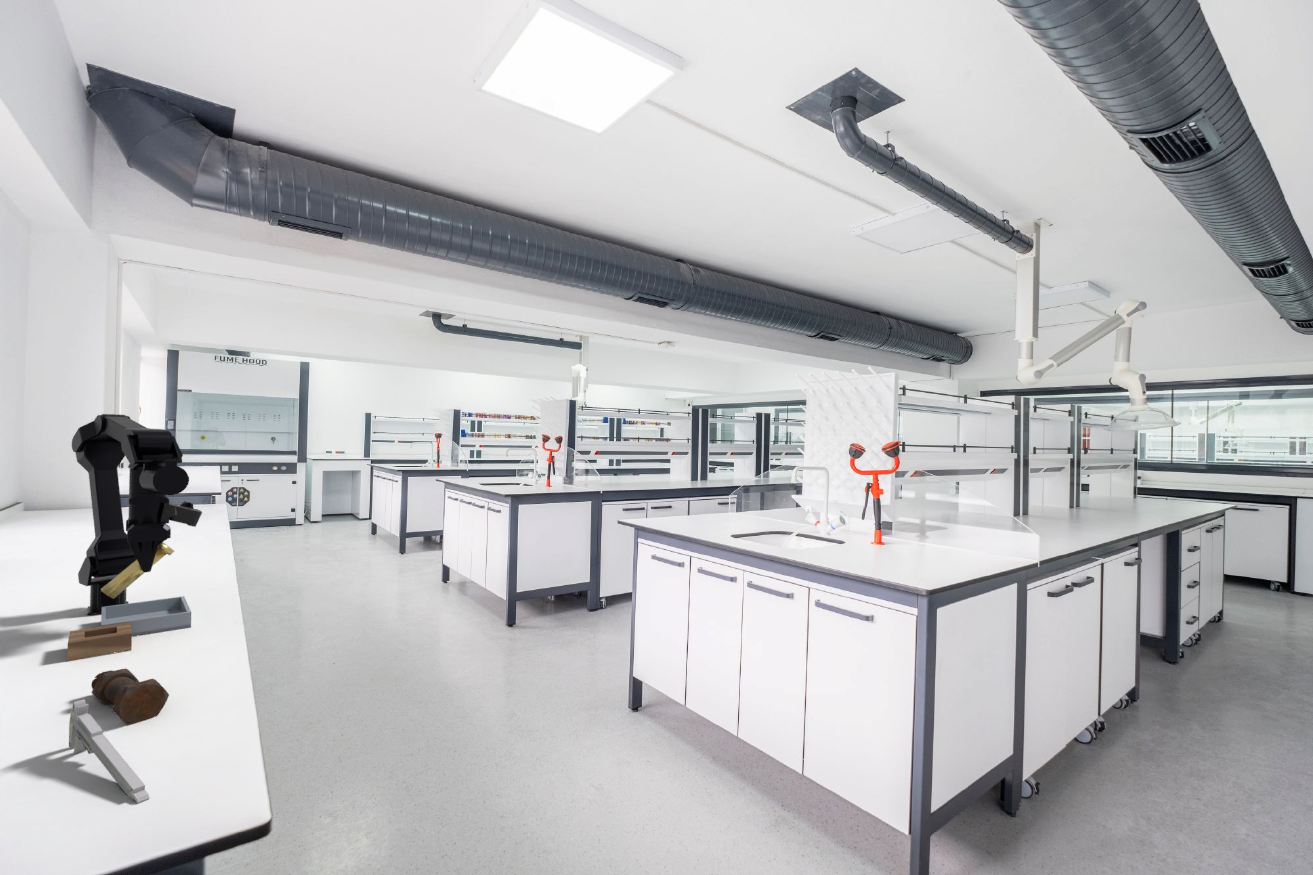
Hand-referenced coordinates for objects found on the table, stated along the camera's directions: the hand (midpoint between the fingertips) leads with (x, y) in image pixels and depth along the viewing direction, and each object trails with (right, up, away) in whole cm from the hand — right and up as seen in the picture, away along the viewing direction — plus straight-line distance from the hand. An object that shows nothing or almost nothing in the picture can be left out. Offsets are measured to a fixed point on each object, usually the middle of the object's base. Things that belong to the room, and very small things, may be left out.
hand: (146, 570), depth 117 cm
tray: (-1, -11, 0) cm, 11 cm away
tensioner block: (+3, -11, -13) cm, 17 cm away
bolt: (+27, -12, -34) cm, 45 cm away
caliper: (+39, -12, -50) cm, 65 cm away
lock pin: (-4, -4, -4) cm, 7 cm away
